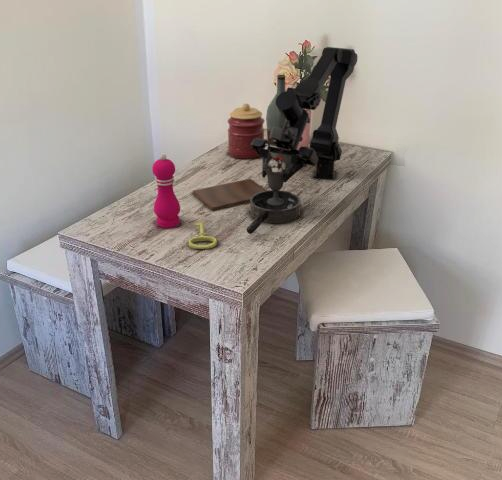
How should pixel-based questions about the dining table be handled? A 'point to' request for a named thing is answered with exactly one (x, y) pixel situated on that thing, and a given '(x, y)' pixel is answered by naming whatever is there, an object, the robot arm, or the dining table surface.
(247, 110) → the kitchen canister
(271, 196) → the skillet
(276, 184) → the sundae
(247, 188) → the walnut board
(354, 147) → the dining table surface
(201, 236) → the key
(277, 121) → the bottle
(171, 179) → the pepper mill
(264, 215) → the skillet handle
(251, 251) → the dining table surface
